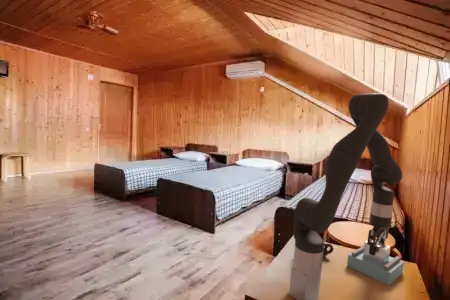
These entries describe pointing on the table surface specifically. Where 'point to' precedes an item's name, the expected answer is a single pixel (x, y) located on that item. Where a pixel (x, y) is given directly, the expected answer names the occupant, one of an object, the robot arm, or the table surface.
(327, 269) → the table surface
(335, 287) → the table surface
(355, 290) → the table surface
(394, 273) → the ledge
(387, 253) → the block
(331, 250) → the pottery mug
